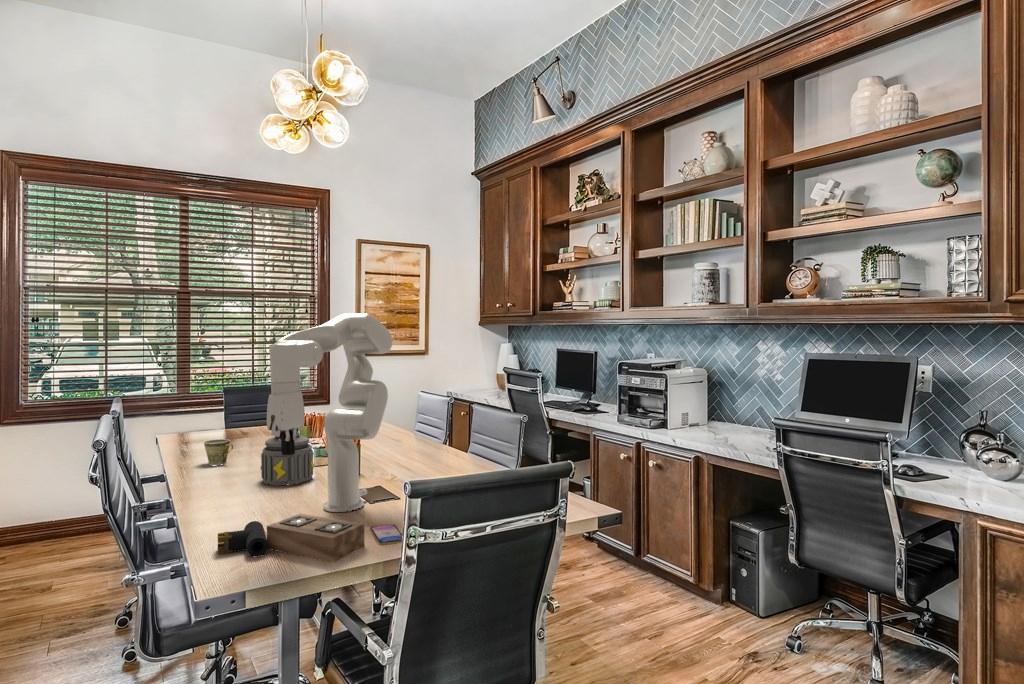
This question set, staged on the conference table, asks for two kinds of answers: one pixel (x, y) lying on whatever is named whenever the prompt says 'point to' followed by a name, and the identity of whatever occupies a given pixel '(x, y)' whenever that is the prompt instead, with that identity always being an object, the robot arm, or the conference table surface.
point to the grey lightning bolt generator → (287, 462)
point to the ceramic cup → (217, 451)
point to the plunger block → (316, 537)
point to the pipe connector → (244, 540)
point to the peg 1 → (298, 520)
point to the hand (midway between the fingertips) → (288, 454)
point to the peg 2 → (333, 526)
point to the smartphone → (386, 534)
